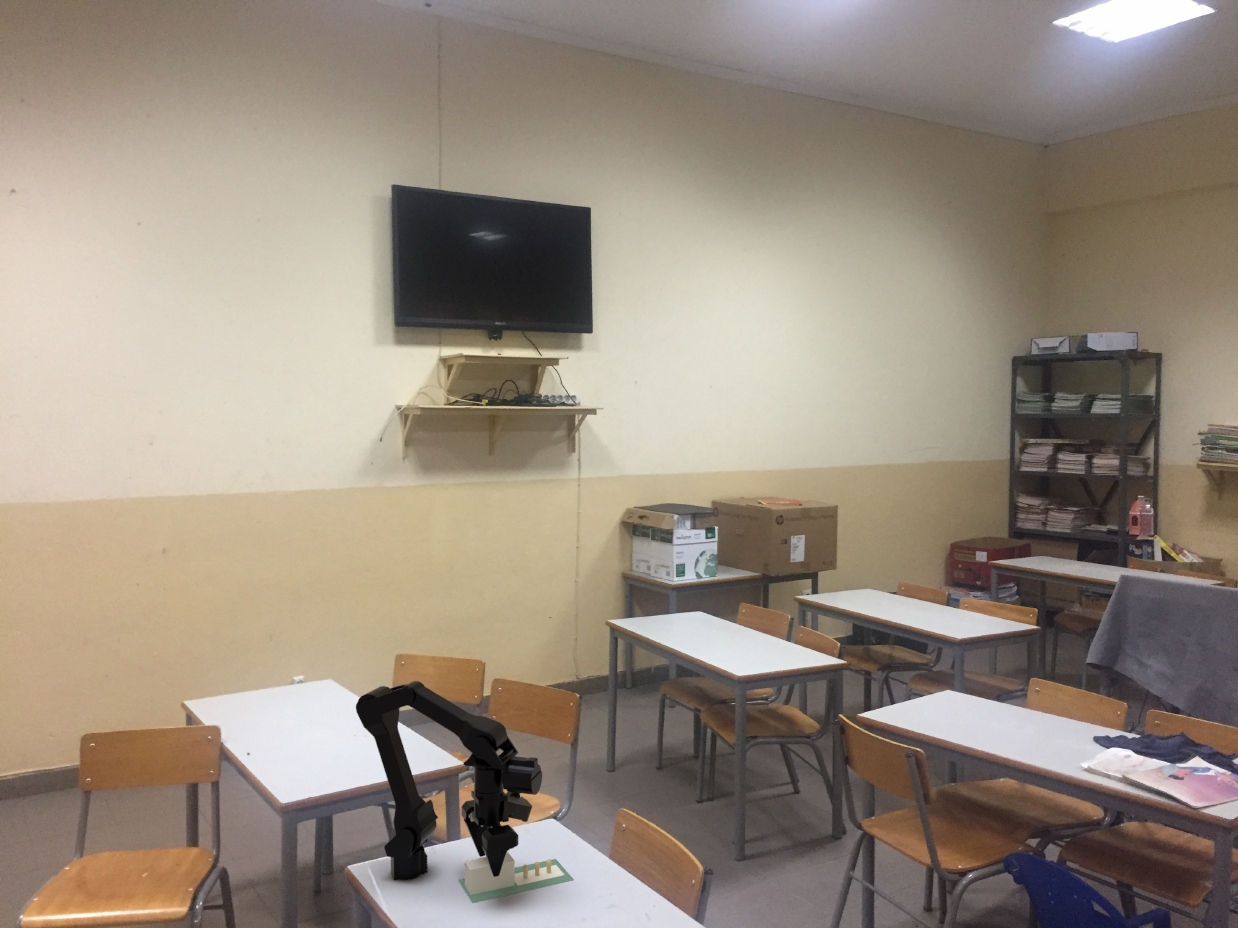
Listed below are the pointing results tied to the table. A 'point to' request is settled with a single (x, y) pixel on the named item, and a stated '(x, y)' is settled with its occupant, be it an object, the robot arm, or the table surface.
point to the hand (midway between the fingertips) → (489, 865)
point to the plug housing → (488, 875)
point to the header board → (526, 880)
